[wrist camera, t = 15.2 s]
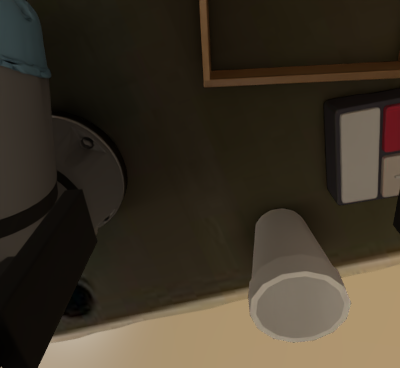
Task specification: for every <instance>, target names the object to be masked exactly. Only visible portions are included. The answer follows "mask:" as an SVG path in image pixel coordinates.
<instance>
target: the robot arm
mask: <svg viewBox="0 0 400 368" xmlns="http://www.w3.org/2000/svg"><path fill="white" fill-rule="evenodd" d="M49 78H51V72H50V69H49V68H48V67H47V62H46V56H45V50H44V44H43V36H42V29H41V24H40V20H39V18H38V15H37V13H36V12H35V10H34V9H33V7H32V6H31V5H30V4H29V3H28V2H27V1H26V0H0V367H1V366H2V368H38V366H39V364H40V362H41V360H42V358H43V356H44V353H45V351H46V349H47V347H48V345H49V343H50V341H51V339H52V336H53V334H54V332H55V330H56V328H57V326H58V324H59V322H60V319H61V317H62V315H63V313H64V311H65V309H66V307H67V305H68V302H69V300H70V298H71V296H72V294H73V292H74V290H75V288H76V285H77V283H78V281H79V279H80V277H81V275H82V273H83V271H84V268H85V266H86V264H87V262H88V260H89V258H90V256H91V254H92V252H93V249H94V247H95V245H96V243H97V238H96V235H97V233H98V228H100V227H101V226H103V225H104V224H106V223H107V222H108V221H109V220H110V219H111V218H112V217H113V216H114V215H115V214H116V212H117V211H118V209H119V207H120V205H121V203H122V200H123V198H124V196H125V193H126V188H127V172H126V167H125V164H124V161H123V158H122V156H121V154H120V152H119V150H118V149H117V147H116V146H115V144H114V143H113V142H112V141H111V139H110V138H109V137H108V136H107V135H106V134H105V133H104V132H103V131H101V130H100V129H99V128H98V127H96V126H95V125H93V124H92V123H90V122H88V121H87V120H85V119H83V118H80V117H78V116H75V115H72V114H68V113H63V112H56V111H51V100H50V87H49ZM393 225H394V227H395V228H396V229H397V231H398V232H399V233H400V190H399V196H398V201H397V206H396V212H395V217H394V222H393Z"/></svg>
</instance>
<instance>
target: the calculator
mask: <svg viewBox="0 0 400 368" xmlns="http://www.w3.org/2000/svg"><path fill="white" fill-rule="evenodd" d="M324 120H325V145H326V169H327V189H328V191H329V192H330V194H331V195H332V197H333V198H334V200H335V201H336V203H337V204H338V205H346V204H352V203H358V202H364V201H370V200H376V199H382V198H388V197H394V196H399V190H400V88H399V89H394V90H389V91H383V92H378V93H373V94H358V95H353V96H348V97H343V98H337V99H332V100H328V101H326V102H325V103H324Z"/></svg>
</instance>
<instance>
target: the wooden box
mask: <svg viewBox="0 0 400 368" xmlns="http://www.w3.org/2000/svg"><path fill="white" fill-rule="evenodd" d="M199 6H200V25H201V43H202V61H203V79H204V87H225V86H245V85H266V84H286V83H306V82H327V81H347V80H367V79H388V78H400V52H399V57H398V61H389V62H370V63H351V64H332V65H313V66H294V67H274V68H255V69H236V70H217V71H211V53H210V30H209V8H208V0H199Z"/></svg>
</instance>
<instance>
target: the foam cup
mask: <svg viewBox="0 0 400 368" xmlns="http://www.w3.org/2000/svg"><path fill="white" fill-rule="evenodd" d="M248 299H249V309H250V316H251V318H252V319H253V321H254V323H255V325H256V326H257V328H258V329H259V330H261V331H262V332H264V333H265V334H267V335H269V336H270V337H272V338H273V339H278V340H283V341H288V342H293V343H294V342H303V341H312V340H317V339H319V338H321V337H323V336H326V335H328V334H330V333H332V332H334V331H335V330H336V329H337V328H338V327H339V326H340V325H341V324H342V323H343V322H344V321H345V320H346V319H347V316H348V312H349V309H350V305H351V301H350V299H349V296H348V294H347V292H346V289H345V287H344V284H343V282H342V279H341V277H340V274H339V272H338V270H337V269H336V268H335V267H333V266H332V264H331V262H330V261H329V259H328V258H327V256H326V254H325V253H324V251H323V250H322V248H321V247H320V245H319V243H318V242H317V240H316V239H315V237H314V235H313V234H312V232H311V231H310V229H309V227H308V226H307V224H306V223H305V221H304V220H303V219H302V217H301V216H300V215H299V214H297V213H296V212H295V211H293V210H288V209H284V208H281V209H274V210H270V211H269V212H267V213H265V214H264V215H262V216H261V217H260V219H259V220H258V222H257V223H256V227H255V239H254V252H253V266H252V279H251V280H250V283H249V295H248Z"/></svg>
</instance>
